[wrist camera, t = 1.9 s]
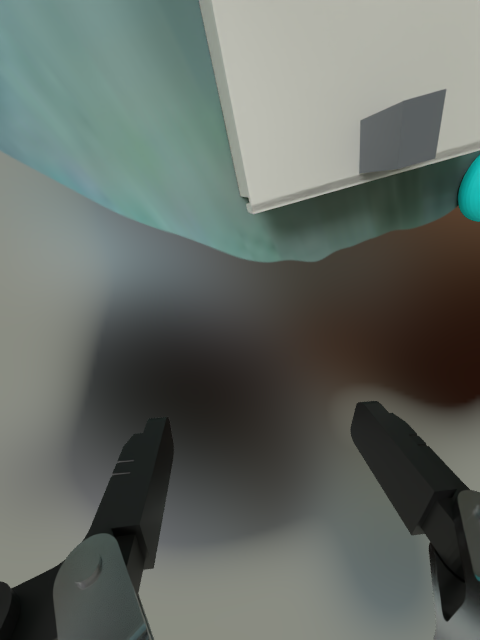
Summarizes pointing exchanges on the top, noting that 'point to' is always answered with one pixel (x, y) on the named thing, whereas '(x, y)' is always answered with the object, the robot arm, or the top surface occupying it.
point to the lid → (347, 90)
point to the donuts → (470, 192)
